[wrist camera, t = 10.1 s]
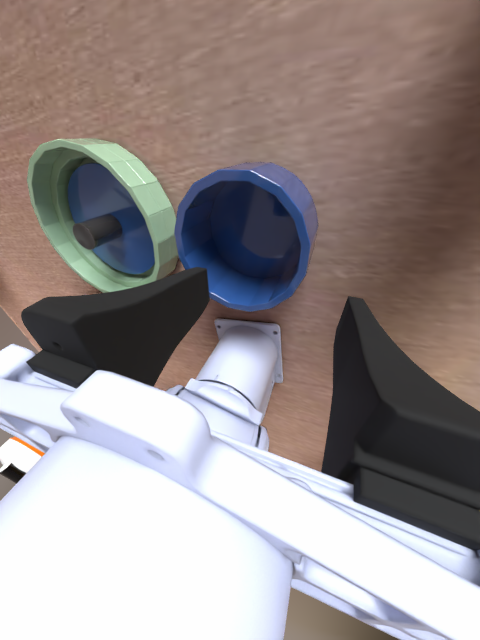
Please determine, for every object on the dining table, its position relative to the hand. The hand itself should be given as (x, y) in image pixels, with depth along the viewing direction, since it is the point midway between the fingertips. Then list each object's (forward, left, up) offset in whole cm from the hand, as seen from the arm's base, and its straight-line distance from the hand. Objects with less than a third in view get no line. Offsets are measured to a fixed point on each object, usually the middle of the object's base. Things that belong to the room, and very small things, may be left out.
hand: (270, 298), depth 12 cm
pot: (+1, +4, -10) cm, 11 cm away
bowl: (+2, +19, -10) cm, 21 cm away
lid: (+2, +19, -9) cm, 21 cm away
